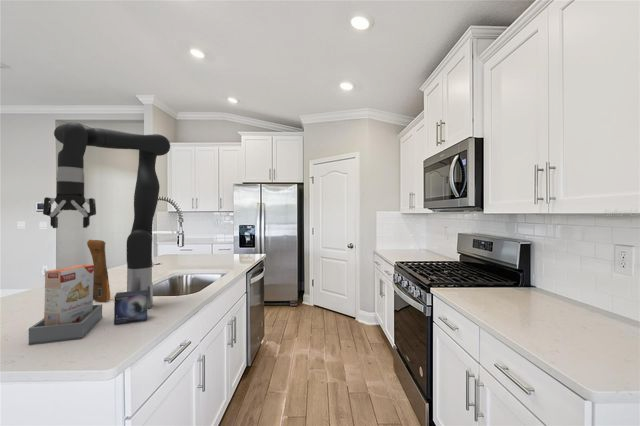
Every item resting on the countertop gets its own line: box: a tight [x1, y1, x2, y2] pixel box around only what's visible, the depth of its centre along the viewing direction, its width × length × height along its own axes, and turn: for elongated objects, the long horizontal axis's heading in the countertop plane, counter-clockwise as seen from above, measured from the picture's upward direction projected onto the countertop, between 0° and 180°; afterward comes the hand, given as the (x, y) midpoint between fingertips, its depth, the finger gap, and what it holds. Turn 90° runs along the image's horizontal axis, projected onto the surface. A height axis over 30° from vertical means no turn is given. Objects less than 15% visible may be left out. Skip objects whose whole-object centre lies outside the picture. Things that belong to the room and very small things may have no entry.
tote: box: [28, 304, 103, 346], centre depth 107 cm, size 14×22×5 cm, turn 21°
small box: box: [113, 290, 148, 326], centre depth 116 cm, size 11×6×10 cm, turn 118°
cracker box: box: [43, 264, 94, 326], centre depth 107 cm, size 14×6×21 cm, turn 177°
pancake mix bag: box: [86, 239, 111, 303], centre depth 144 cm, size 7×19×28 cm, turn 48°
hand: (70, 227), depth 107 cm, fingers open, 8 cm apart
